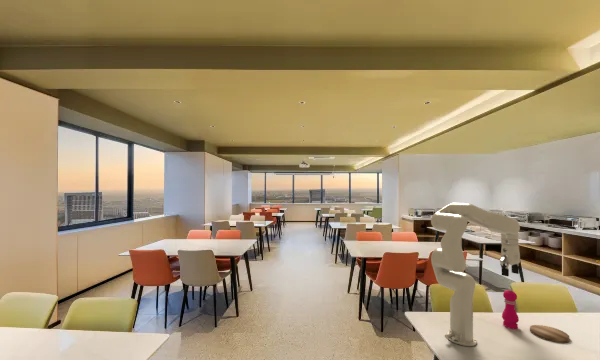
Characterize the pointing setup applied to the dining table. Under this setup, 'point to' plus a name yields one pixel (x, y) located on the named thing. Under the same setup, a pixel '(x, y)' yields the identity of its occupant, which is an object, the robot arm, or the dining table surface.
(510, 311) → the pepper mill
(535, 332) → the walnut board
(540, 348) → the dining table surface
